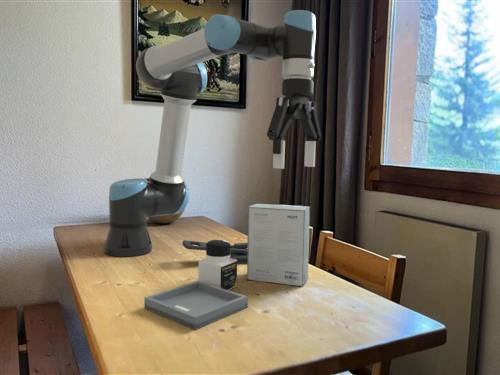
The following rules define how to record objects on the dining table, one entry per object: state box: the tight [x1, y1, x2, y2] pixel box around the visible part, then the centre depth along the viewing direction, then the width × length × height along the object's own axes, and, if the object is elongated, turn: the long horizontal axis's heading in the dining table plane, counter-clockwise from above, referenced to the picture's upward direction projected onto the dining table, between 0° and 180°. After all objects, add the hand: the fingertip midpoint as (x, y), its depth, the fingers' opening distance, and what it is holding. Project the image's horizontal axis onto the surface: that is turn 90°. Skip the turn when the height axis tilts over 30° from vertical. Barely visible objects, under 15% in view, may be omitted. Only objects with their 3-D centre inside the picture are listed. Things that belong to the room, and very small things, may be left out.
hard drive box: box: [246, 203, 311, 287], centre depth 118 cm, size 16×8×20 cm, turn 71°
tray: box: [144, 280, 249, 331], centre depth 97 cm, size 16×16×2 cm
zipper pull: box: [182, 239, 248, 265], centre depth 135 cm, size 9×7×25 cm
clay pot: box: [143, 176, 187, 225], centre depth 192 cm, size 21×21×20 cm
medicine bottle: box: [197, 239, 238, 291], centre depth 111 cm, size 7×7×12 cm
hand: (294, 167), depth 108 cm, fingers open, 13 cm apart
